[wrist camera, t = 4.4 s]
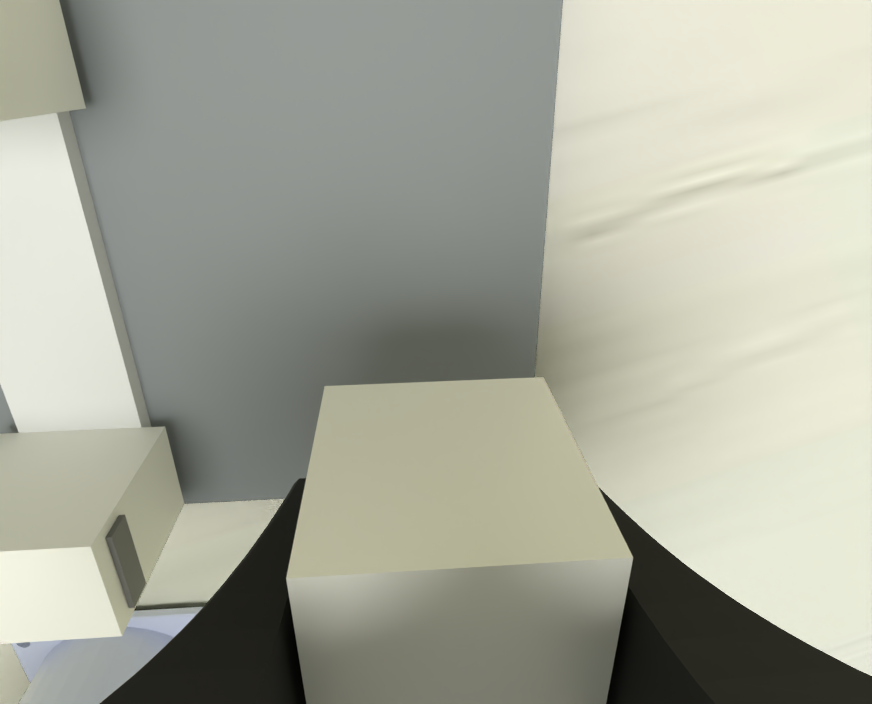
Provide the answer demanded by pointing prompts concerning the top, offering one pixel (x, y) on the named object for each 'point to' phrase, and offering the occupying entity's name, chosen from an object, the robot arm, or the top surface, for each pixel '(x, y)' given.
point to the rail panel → (242, 253)
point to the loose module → (453, 550)
